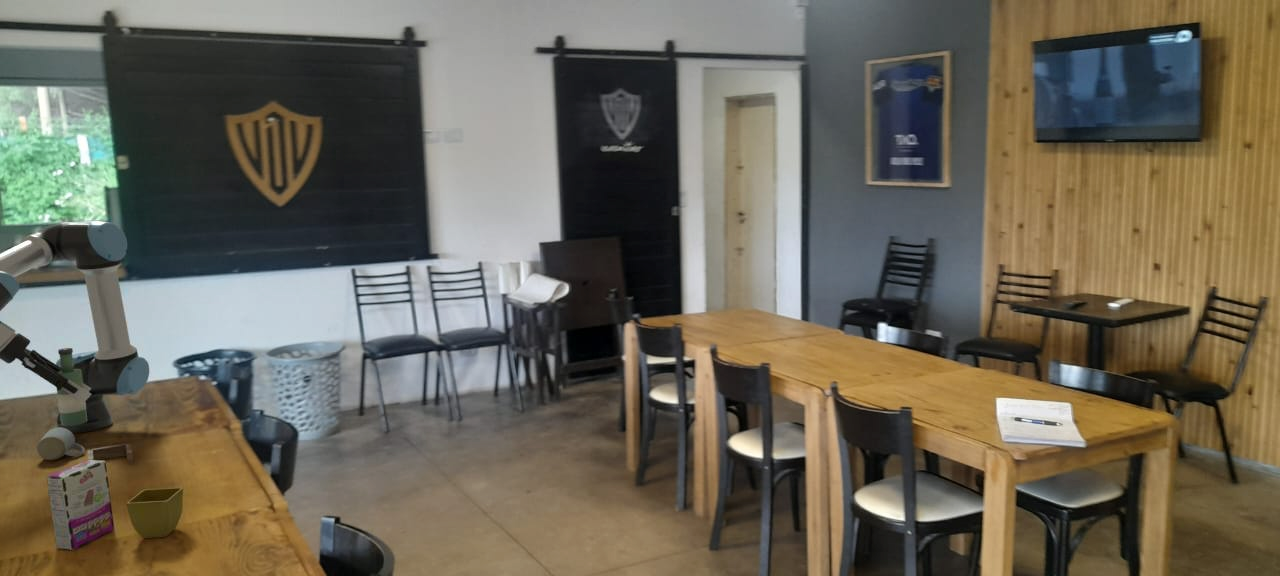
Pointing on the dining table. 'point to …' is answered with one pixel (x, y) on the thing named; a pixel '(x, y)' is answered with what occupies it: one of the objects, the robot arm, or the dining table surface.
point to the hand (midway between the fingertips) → (87, 395)
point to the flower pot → (156, 511)
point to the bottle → (68, 404)
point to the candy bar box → (80, 504)
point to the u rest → (111, 452)
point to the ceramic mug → (58, 444)
